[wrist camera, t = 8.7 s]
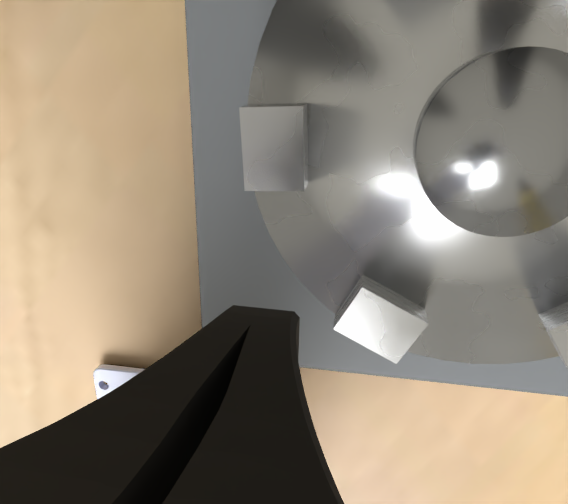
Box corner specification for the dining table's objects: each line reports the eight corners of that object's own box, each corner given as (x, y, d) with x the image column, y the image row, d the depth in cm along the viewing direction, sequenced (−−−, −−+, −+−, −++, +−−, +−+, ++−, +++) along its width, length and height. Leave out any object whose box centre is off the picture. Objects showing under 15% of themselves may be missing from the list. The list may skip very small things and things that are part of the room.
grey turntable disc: (681, 344, 17) (863, 508, 11) (268, 323, 19) (224, 448, 13) (854, -190, 12) (1432, -481, 5) (245, -130, 14) (148, -283, 8)
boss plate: (689, 387, 19) (717, 415, 18) (213, 338, 22) (202, 359, 21) (965, -272, 12) (1056, -321, 10) (189, -226, 15) (169, -259, 13)
